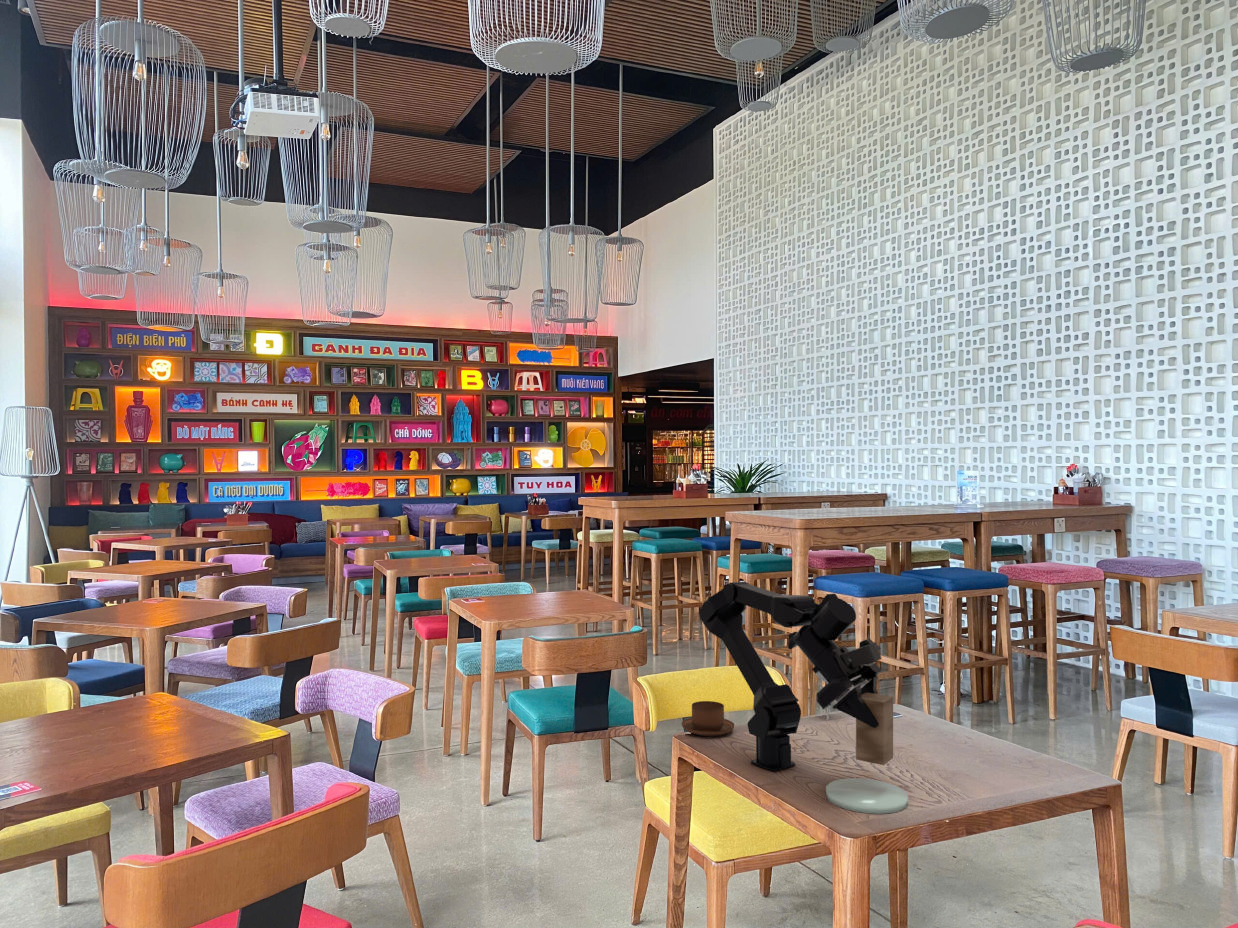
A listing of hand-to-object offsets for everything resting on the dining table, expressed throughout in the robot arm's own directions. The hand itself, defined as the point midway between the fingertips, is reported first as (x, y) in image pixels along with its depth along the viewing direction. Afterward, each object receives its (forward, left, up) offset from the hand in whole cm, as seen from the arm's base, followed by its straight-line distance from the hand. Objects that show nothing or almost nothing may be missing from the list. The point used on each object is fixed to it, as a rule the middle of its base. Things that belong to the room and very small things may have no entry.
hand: (882, 722), depth 148 cm
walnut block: (-1, 0, -7) cm, 7 cm away
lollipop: (-39, +33, -14) cm, 53 cm away
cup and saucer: (-49, +3, -14) cm, 51 cm away
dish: (-2, -2, -13) cm, 14 cm away
